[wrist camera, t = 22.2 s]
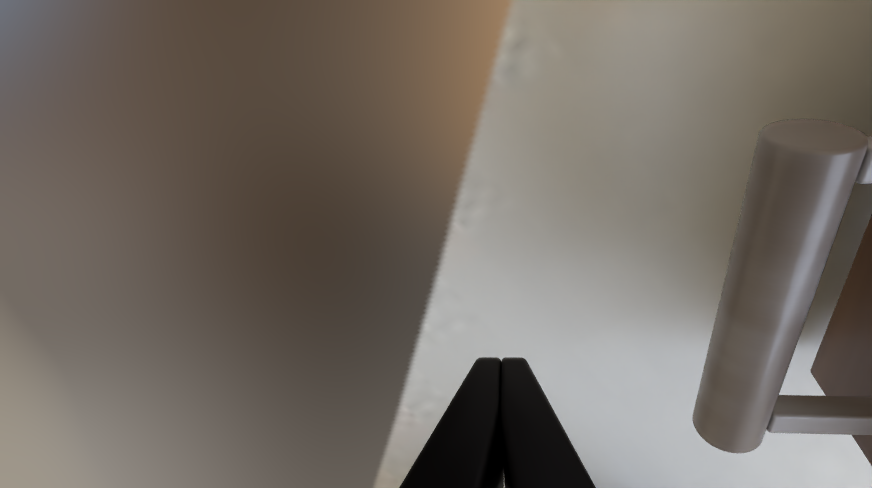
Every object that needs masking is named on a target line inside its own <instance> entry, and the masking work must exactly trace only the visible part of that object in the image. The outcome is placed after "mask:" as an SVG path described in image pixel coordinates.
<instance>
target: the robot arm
mask: <svg viewBox="0 0 872 488" xmlns="http://www.w3.org/2000/svg"><path fill="white" fill-rule="evenodd" d="M504 480H505V488H596V487H595V485H594V484H593V482H592V480H591V478H590V476H589V474H588V473H587V471H586V469H585V467H584V465H583V463H582V462H581V460H580V458H579V456H578V454H577V452H576V451H575V449H574V447H573V445H572V443H571V441H570V440H569V438H568V436H567V434H566V432H565V430H564V429H563V427H562V425H561V423H560V421H559V419H558V418H557V416H556V414H555V412H554V410H553V408H552V407H551V405H550V403H549V401H548V399H547V397H546V396H545V394H544V392H543V390H542V388H541V386H540V385H539V383H538V381H537V379H536V377H535V375H534V374H533V372H532V370H531V368H530V366H529V364H528V363H527V361H526V360H525V359H524V358H503V359H502V361H501V360H500V359H499V358H478V359H477V360H476V361H475V363H474V365H473V366H472V368H471V370H470V371H469V373H468V375H467V376H466V378H465V380H464V381H463V383H462V385H461V386H460V388H459V390H458V391H457V393H456V395H455V396H454V398H453V400H452V401H451V403H450V405H449V406H448V408H447V409H446V411H445V413H444V414H443V416H442V418H441V419H440V421H439V423H438V424H437V426H436V428H435V429H434V431H433V433H432V434H431V436H430V438H429V439H428V441H427V443H426V444H425V446H424V448H423V449H422V451H421V453H420V454H419V456H418V458H417V459H416V461H415V463H414V464H413V466H412V468H411V469H410V471H409V473H408V474H407V476H406V478H405V479H404V481H403V482H402V484H401V486H400V487H399V488H503V486H504Z"/></svg>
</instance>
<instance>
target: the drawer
mask: <svg viewBox="0 0 872 488" xmlns="http://www.w3.org/2000/svg"><path fill="white" fill-rule="evenodd" d="M855 182H857V183H859V184H872V136H866V135H865V134H864V133H863V132H861V131H859V130H857V129H855V128H853V127H850V126H847V125H844V124H840V123H836V122H831V121H824V120H814V119H792V120H783V121H777V122H773V123H770V124H768V125H766V126H765V127H763V129H762V130H761V131H760V132H759V136H758V140H757V144H756V149H755V153H754V157H753V161H752V166H751V170H750V174H749V178H748V183H747V187H746V191H745V195H744V200H743V204H742V208H741V212H740V217H739V221H738V225H737V229H736V234H735V238H734V242H733V246H732V251H731V255H730V259H729V263H728V268H727V272H726V276H725V280H724V285H723V289H722V293H721V297H720V302H719V306H718V310H717V314H716V319H715V323H714V327H713V331H712V336H711V340H710V344H709V348H708V353H707V357H706V361H705V365H704V370H703V374H702V378H701V382H700V387H699V391H698V395H697V399H696V404H695V408H694V412H693V423H694V426H695V428H696V430H697V432H698V433H699V435H700V436H701V437H702V438H703V439H704V440H705V441H706V442H708V443H709V444H711V445H712V446H714V447H716V448H718V449H720V450H723V451H726V452H731V453H746V452H750V451H752V450H754V449H756V448H757V447H758V446H759V445H760V444H761V442H762V439H763V437H764V434H765V431H766V429H767V431H768V432H771V433H807V434H848V435H852V436H853V438H854V439H855V441H856V442H857V444H858V445H859V447H860V448H861V450H862V451H863V453H864V455H865V456H866V458H867V459H868V461H869V462H870V464H871V465H872V215H871V217H870V220H869V223H868V225H867V228H866V230H865V233H864V235H863V238H862V240H861V243H860V245H859V248H858V251H857V253H856V256H855V258H854V261H853V263H852V266H851V268H850V271H849V273H848V276H847V279H846V281H845V284H844V286H843V289H842V291H841V294H840V296H839V299H838V301H837V304H836V306H835V309H834V312H833V314H832V317H831V319H830V322H829V324H828V327H827V329H826V332H825V334H824V337H823V340H822V342H821V345H820V347H819V350H818V352H817V355H816V357H815V360H814V362H813V365H812V368H811V373H812V375H813V377H814V378H815V380H816V381H817V383H818V384H819V386H820V387H821V389H822V390H823V392H824V393H825V395H826V396H800V395H779V392H780V389H781V387H782V384H783V381H784V378H785V375H786V373H787V370H788V367H789V364H790V362H791V359H792V356H793V353H794V350H795V348H796V345H797V342H798V339H799V336H800V334H801V331H802V328H803V325H804V323H805V320H806V317H807V314H808V311H809V309H810V306H811V303H812V300H813V297H814V295H815V292H816V289H817V286H818V284H819V281H820V278H821V275H822V272H823V270H824V267H825V264H826V261H827V258H828V256H829V253H830V250H831V247H832V245H833V242H834V239H835V236H836V233H837V231H838V228H839V225H840V222H841V219H842V217H843V214H844V211H845V208H846V206H847V203H848V200H849V197H850V194H851V192H852V189H853V186H854V183H855Z"/></svg>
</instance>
